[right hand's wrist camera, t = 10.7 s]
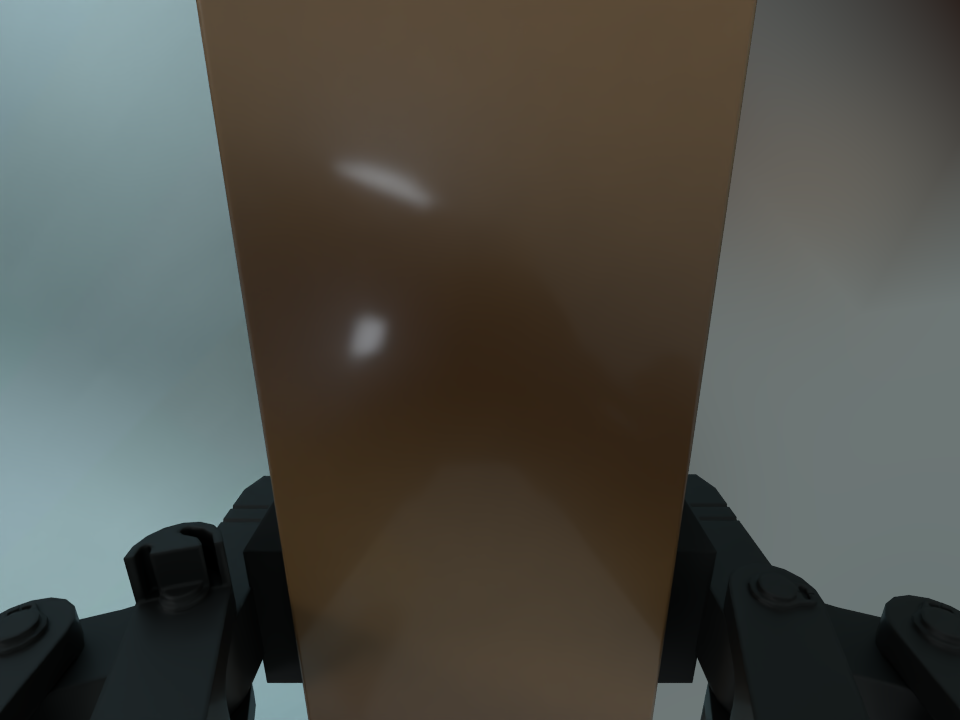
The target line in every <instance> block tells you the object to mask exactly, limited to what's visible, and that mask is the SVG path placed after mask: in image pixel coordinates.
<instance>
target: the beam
mask: <svg viewBox="0 0 960 720" xmlns="http://www.w3.org/2000/svg"><path fill="white" fill-rule="evenodd" d="M196 4H197V10H198V16H199V23H200V29H201V36H202V42H203V48H204V55H205V61H206V68H207V74H208V80H209V87H210V93H211V100H212V106H213V112H214V119H215V125H216V132H217V138H218V144H219V151H220V157H221V163H222V170H223V176H224V183H225V189H226V195H227V202H228V208H229V215H230V221H231V227H232V234H233V240H234V247H235V253H236V259H237V266H238V272H239V279H240V285H241V291H242V298H243V304H244V311H245V317H246V323H247V330H248V336H249V343H250V349H251V355H252V362H253V368H254V375H255V381H256V387H257V394H258V400H259V407H260V413H261V419H262V426H263V432H264V439H265V445H266V451H267V458H268V464H269V471H270V477H271V483H272V490H273V496H274V503H275V509H276V515H277V522H278V528H279V535H280V541H281V547H282V554H283V560H284V567H285V573H286V579H287V586H288V592H289V599H290V605H291V611H292V618H293V624H294V630H295V637H296V643H297V650H298V656H299V662H300V669H301V675H302V682H303V688H304V694H305V701H306V707H307V714H308V720H652V718H653V712H654V705H655V698H656V691H657V684H658V677H659V670H660V663H661V657H662V650H663V643H664V636H665V629H666V622H667V615H668V608H669V602H670V595H671V588H672V581H673V574H674V567H675V560H676V554H677V547H678V540H679V533H680V526H681V519H682V512H683V505H684V499H685V492H686V485H687V478H688V471H689V464H690V457H691V451H692V444H693V437H694V430H695V423H696V416H697V409H698V402H699V396H700V389H701V382H702V375H703V368H704V361H705V354H706V347H707V340H708V334H709V327H710V320H711V313H712V306H713V299H714V293H715V286H716V279H717V272H718V265H719V258H720V251H721V244H722V238H723V231H724V224H725V217H726V210H727V203H728V196H729V189H730V183H731V176H732V169H733V162H734V155H735V148H736V141H737V134H738V128H739V121H740V114H741V107H742V100H743V93H744V86H745V79H746V72H747V66H748V59H749V52H750V45H751V38H752V31H753V25H754V18H755V11H756V4H757V0H196Z"/></svg>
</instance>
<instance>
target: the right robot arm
mask: <svg viewBox="0 0 960 720" xmlns="http://www.w3.org/2000/svg"><path fill="white" fill-rule="evenodd" d="M124 562H125V566H126V569H127V573H128V576H129V580H130V583H131V587H132V590H133V594H134V597H135V601H136V605H135V606H133V607H129V608H126V609H123V610H119V611H114V612H110V613H106V614H101V615H97V616H93V617H88V618H84V619H80V620H79V618H78V615H77V612H76V609H75V606H74V605H73V604H71V603H70V602H69V601H68V600H66V599H59V598H45V599H39V600H33V601H29V602H27V603H24V604H21V605H18V606H15V607H13V608H10V609H8V610H6V611H4V612H2V613H1V614H0V720H254V717H255V707H256V704H255V696H254V690H253V686H252V683H253V680H254V678H255V676H256V673H257V671H258V669H259V666H260V664H261V662H262V660H263V663H264V668H265V673H266V679H267V683H303V682H302V675H301V669H300V662H299V656H298V650H297V643H296V637H295V630H294V624H293V618H292V611H291V605H290V599H289V592H288V586H287V579H286V573H285V567H284V560H283V554H282V547H281V541H280V535H279V528H278V522H277V515H276V509H275V503H274V496H273V490H272V483H271V477H270V476H263V477H262V478H260V479H259V480H258V481H256V482H255V483H253V484H252V485H250V486H249V487H248V488H246V489H245V490H244V491H243V492H242V494H241V495H240V497H239V498H238V499H237V501H236V502H235V504H234V505H233V509H230V511H229V512H228V513H227V515H226V516H225V517H224V519H223V522H221V523H220V524H219V526H218V527H215V526H214V525H212V524H207V523H203V522H190V523H181V524H177V525H174V526H170V527H166V528H163V529H161V530H159V531H157V532H155V533H153V534H150V535H148V536H147V537H145V538H144V539H143V540H141V541H140V542H138V543H137V544H136V545H134V546H133V547H132V548H131V550H130V551H129V552H128V553H127V555H126V556H125V557H124ZM697 658H698V660H699V663H700V665H701V667H702V669H703V672H704V674H705V676H706V678H707V681H708V686H707V690H706V695H705V701H704V705H703V710H702V715H701V720H960V611H959V610H957V609H955V608H953V607H951V606H949V605H946V604H944V603H940V602H938V601H935V600H932V599H929V598H924V597H918V596H911V595H906V596H898V597H893V598H892V599H891V600H890V601H889V602H887V603H886V604H885V607H884V610H883V614H882V616H881V617H877V616H873V615H868V614H864V613H860V612H855V611H851V610H847V609H842V608H838V607H835V606H831V605H828V604H825V603H824V602H823V600H822V599H821V597H820V596H819V594H818V593H817V591H816V590H815V589H814V588H813V587H812V586H810V585H809V584H808V583H807V582H806V581H804V580H803V579H802V578H800V577H798V576H796V575H795V574H793V573H791V572H789V571H787V570H785V569H782V568H778V567H775V566H772V565H771V564H770V563H769V561H768V560H767V559H766V557H765V556H764V554H763V553H762V552H761V550H760V549H759V548H758V546H757V545H756V543H755V542H754V541H753V539H752V538H751V536H750V535H749V534H748V532H747V531H746V530H745V528H744V527H743V525H742V524H741V523H740V521H737V519H736V516H735V514H734V513H733V512H732V510H731V509H730V507H727V503H726V502H725V501H724V499H723V498H722V497H721V495H720V494H719V492H718V491H717V490H716V488H715V487H713V486H712V485H710V484H709V483H708V482H706V481H705V480H703V479H702V478H700V477H699V476H698V475H696V474H688V478H687V485H686V492H685V499H684V505H683V512H682V519H681V526H680V533H679V540H678V547H677V554H676V560H675V567H674V574H673V581H672V588H671V595H670V602H669V608H668V615H667V622H666V629H665V636H664V643H663V650H662V657H661V663H660V670H659V677H658V683H692V682H693V676H694V671H695V666H696V660H697Z"/></svg>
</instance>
